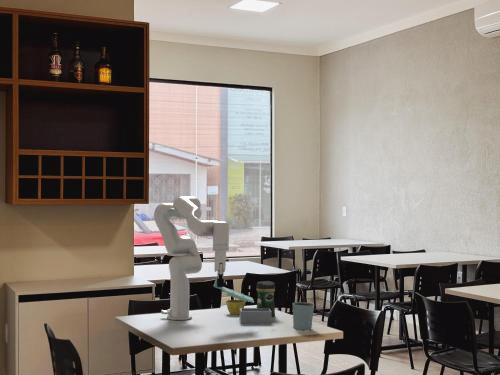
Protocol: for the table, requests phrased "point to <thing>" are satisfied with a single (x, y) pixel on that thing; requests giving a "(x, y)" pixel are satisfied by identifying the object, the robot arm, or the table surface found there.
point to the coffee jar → (266, 295)
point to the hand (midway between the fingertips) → (220, 286)
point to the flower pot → (235, 306)
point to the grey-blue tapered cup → (302, 315)
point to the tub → (255, 316)
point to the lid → (234, 293)
